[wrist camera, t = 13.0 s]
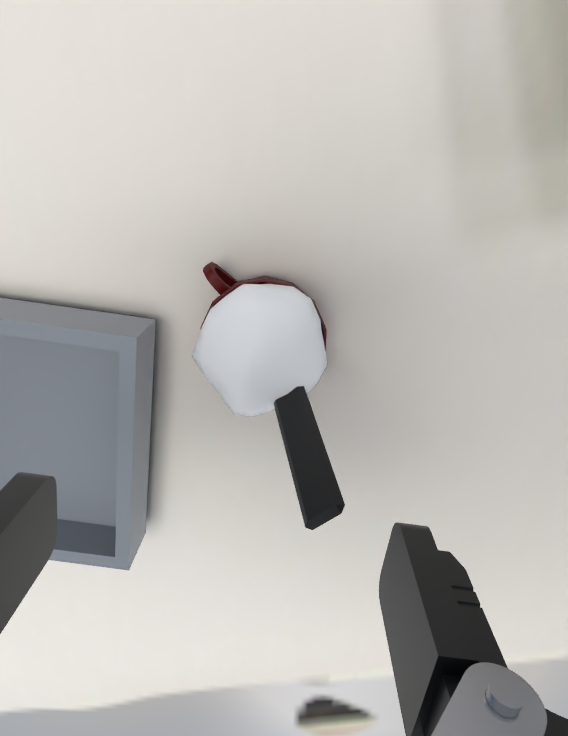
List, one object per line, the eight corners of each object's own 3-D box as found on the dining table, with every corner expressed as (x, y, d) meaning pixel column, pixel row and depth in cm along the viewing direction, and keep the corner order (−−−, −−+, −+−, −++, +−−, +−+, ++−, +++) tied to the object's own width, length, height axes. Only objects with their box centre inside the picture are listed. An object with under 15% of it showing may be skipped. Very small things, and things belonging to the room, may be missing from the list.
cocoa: (195, 262, 27) (103, 309, 16) (308, 234, 27) (294, 262, 15) (242, 418, 30) (191, 552, 19) (345, 398, 29) (357, 525, 18)
